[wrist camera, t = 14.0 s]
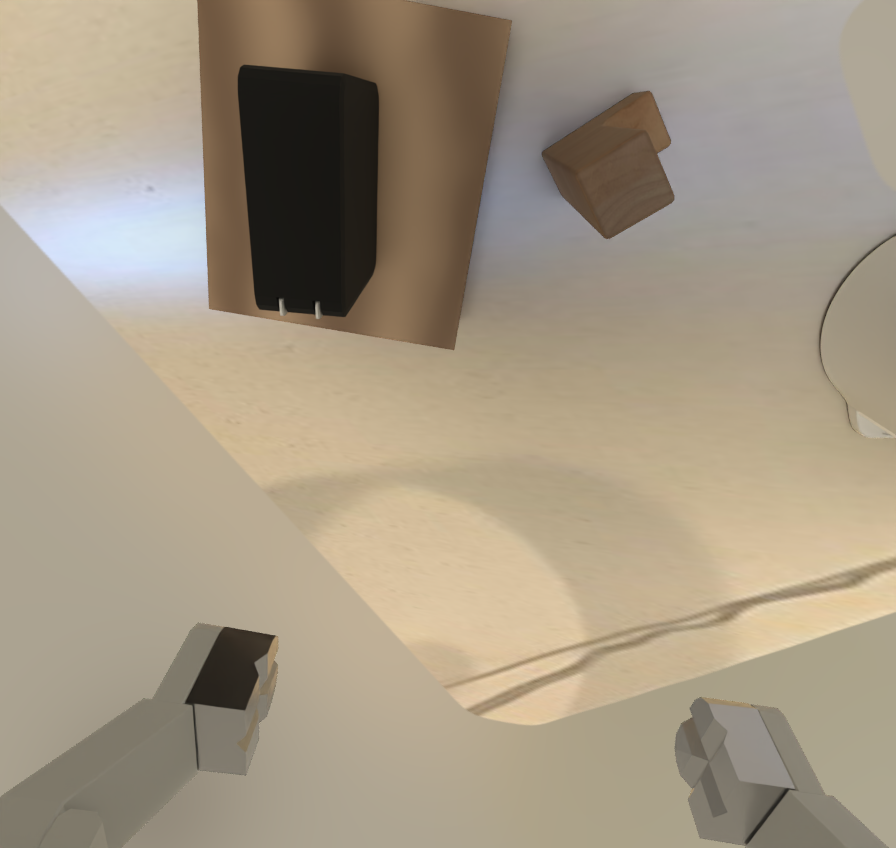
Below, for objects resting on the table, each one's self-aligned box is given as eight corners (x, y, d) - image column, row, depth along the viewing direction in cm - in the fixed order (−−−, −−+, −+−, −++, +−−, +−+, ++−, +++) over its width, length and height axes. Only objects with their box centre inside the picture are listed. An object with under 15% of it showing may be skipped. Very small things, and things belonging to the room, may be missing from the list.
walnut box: (506, 35, 35) (512, 20, 29) (456, 321, 43) (454, 349, 38) (239, -16, 34) (196, -40, 29) (242, 284, 43) (209, 308, 37)
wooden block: (562, 198, 39) (606, 242, 26) (540, 152, 38) (573, 173, 24) (656, 141, 37) (754, 156, 24) (635, 91, 36) (727, 77, 22)
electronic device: (380, 84, 31) (341, 71, 22) (377, 271, 36) (343, 323, 27) (302, 77, 31) (232, 62, 22) (309, 265, 36) (254, 315, 27)
